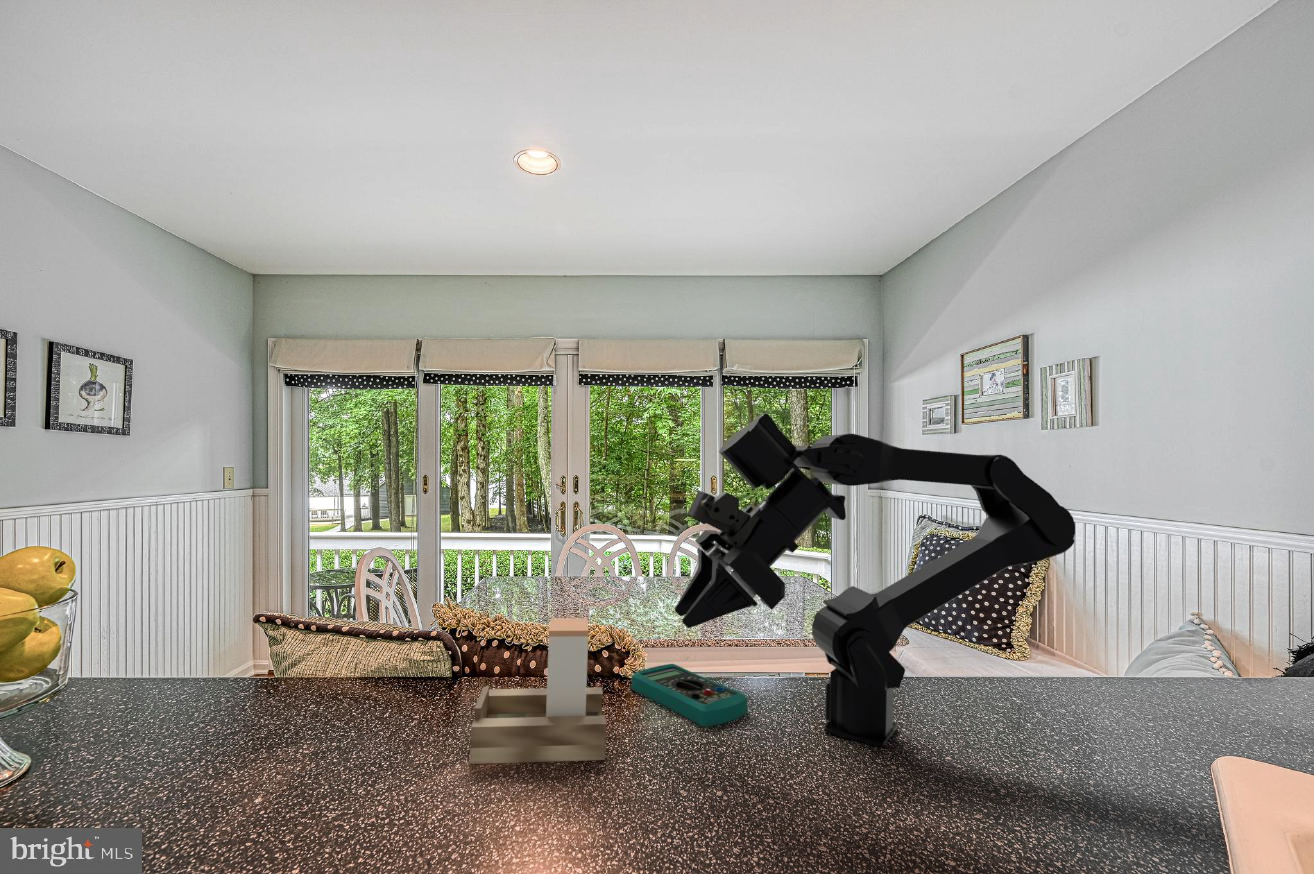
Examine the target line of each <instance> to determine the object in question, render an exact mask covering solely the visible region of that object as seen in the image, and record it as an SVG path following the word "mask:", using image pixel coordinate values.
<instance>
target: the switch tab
mask: <svg viewBox="0 0 1314 874" xmlns="http://www.w3.org/2000/svg"><path fill="white" fill-rule="evenodd" d="M588 621H589V620H588V617H587V618H585V617H582V618H581V617H580V618H579V617H577V618H571V617H569V618H568V617H567V618H566V617H565V618H563V617H562V618H560V617H559V618H554V617H553V618H550V622H549V627H548V628H549V629H548V647H547V649H548V650H547V651H548V654H547V674H546V675H547V677H546V681H547V684H546V688H547V702H546V717H571V716H586V688H587V684H588V683H587V681H588V654H589V653H588V651H589V625H588V624H589V622H588Z"/></svg>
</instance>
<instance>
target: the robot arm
mask: <svg viewBox="0 0 1314 874" xmlns="http://www.w3.org/2000/svg"><path fill="white" fill-rule="evenodd" d="M718 453H719V454H720V455H721V456H722V457H723V458H724V460H726V461H727V463H728V464H729V465H730V466H731V467H732V469H734V470H735V472H737V473H738V475H739V476H740V477H741V478H742V479H743V480H744V481H745V482H746V483H747V484H748V486H749V487H750V488H752V489H758V488H760V487H763V488H764V489H765V490H769V489H772V488H773V487H774V489H772V490H771V492H769V494H768V495H766V496H765V497H764V498H763V500H761V502H760V503H759V504H758V505H752V504H751V505H747V506H746V507H744V509H740V498H739V497H737V496H735V495H733V494H732V493H729V492H727V491H722V492H721V493H720V494H718V495H717V496H714V495H712V494H711V493H710V494H709V493H707V492H705V491H703V490H702V491H701V490H697V493H696V495H695V497H694V498H693V501H692V503H691V505H690V508H689V509H688V511H687V512H686V516H687V517H689V518H691V519H693V520H695V521H696V522H698V523H701V524H702V525H706V524H707V525H709V526H711V527H713V528H715V529H717V530H719V531H717V530H714V529H713V530H712V529H711V530H709V529H708V530H706V529H705V530H704V531H703V532H702V533H701V534H700V535H699V536H698V537H696V539H695V540H694V542H695V543H696V544H697V546H699V547H697V550H696V552H697V557H698V558H697V563H698V564H697V565H698V566H697V569H696V572H695V574H694V575H693V577H692V579H691V580H690V582H689V584H688V585H687V587H686V589H685V590H684V592H683V594H682V596H681V597H680V599H679V600H678V602H677V604H676V605H675V608H674V611H675V613H676V614H677V615H678V616H679V617H682V619H681V622H682V624H683V625H684V626H685V627H686V628H688V629H691V628H693V627H695V626H698V625H701V624H704V623H707V622H710V621H712V620H715V619H718V618H720V617H723V616H725V615H726V616H727V615H729V614H731V613H734V612H738V611H740V610H743V609H747V608H750V607H753V608H754V607H757V606H758V605H759V603H758V602H757V601H756V599H754V598H755V597H756V596H758V597H759V598H760V599H759V600H760V601H761V603H762V604H763V605H765V606H766V607H768V609H770V610H771V611H772V610H774V608H775V607H777V605H778V604H780V602H781V601H782V600H783V599H784V598H785V597H786V583H785V581H784V580H782V578H781V577H780V576H779V575H778V574H777V573H776V572H775V571H774V569H773V568H772V566H773V565H774V564H775V563H776V562H777V561H779V559H780V558H781V557H782V556H783V555H784V554H785V553H786V552H790V553H792V554H793V553H795V552H796V550H797V549H798V548H799V547H800V546H799V545H798V544H797V543H796V542H797V541H798V540H799V538H800V537H802V535H804V534H805V532H807V531H808V529H809V528H810V527H812V525H814V524H815V522H817V520H819V518H820V517H821V516H823V514H824V513H825V514H826V516H828V517H829V518H831V519H835V520H836V519H837V520H841V521H845V520H846V518H847V514H846V508H845V507H846V506H845V501H846V496H845V495H842V494H834V493H832V492H831V491H830V490H829V488H827V486H826V485H825V484H828V485H830V484H831V485H838V486H839V485H840V486H849V487H854V486H862V485H872V484H881V483H886V482H892V481H911V482H912V481H913V482H914V481H915V482H923V483H924V482H925V483H938V484H949V485H961V486H971V487H972V489H973V490H974V491H975V492H976V496H977V499H978V502H979V504H980V508H981V509H982V511H983V512H984V514H985V515H986V516H987V517H986V518H985V519H984V521H983V523H982V525H981V527H980V529H978V532H977V534H975V535H974V536H973V537H971V538H970V539H968V540H966V541H965V542H963V543H961V544H959V545H957V546H955V547H953V548H952V549H951V550H949V551H948V552H946V553H944V554H942V555H940V556H939V557H937V558H936V559H934V560H932V561H930V562H928V563H926V564H925V565H923V566H921V567H919V568H918V569H917V570H914V571H913V572H911V573H910V574H908V575H905V576H904V577H902V578H901V579H899V580H897V581H895V582H893V583H892V584H890V585H889V586H886V588H883V589H881V590H880V591H878V592H874V593H869V592H867V591H864V590H863V589H860V588H858V587H856V586H853V585H852V586H850V587H848V588H846V589H844V590H843V591H842V592H841V593H840V594H839V595H837V596H835V597H834V598H833V597H832V598H831V599H825V600H823V601H822V603H823V604H824V606H823V607H821V609H819V610H818V611H817V612H816V613H815V615H814V616H813V622H812V625H811V635H812V639H813V642H814V643H815V644H816V646H817V647H818V648H819V649H820V650H822V651H823V652H824V655H825V658H826V661H827V664H829V665H832V666H833V667H834V668H833V670H831V671H830V674H829V675H830V679H829V682H827V683H826V684H825V697H824V699H825V700H824V701H825V706H824V707H825V708H824V709H825V711H824V712H825V713H824V718H825V721H827V723H826V724H825V725H823V731H824V732H826V733H828V734H831V735H835V736H839V737H842V738H847V739H849V740H854V741H856V742H857V741H858V742H861V743H865V744H869V745H872V746H876V747H880V748H881V747H885V746H886V744H887V743H888V741H889V740H890V739H891V737H892V736H893V734H894V733H895V732H896V731H897V730H898V723H896V722H894V689H899V688H900V687H901V684H902V681H903V678H904V676H905V673H906V669H905V667H904V666H903V665H902V664H901V663H900V661H899V660H897V659H896V657H894V656H893V654H891V652H892V650H893V649H894V648H895V647H896V645H897V643H898V641H899V640H900V638H901V636H902V634H903V632H904V631H905V630H906V629H907V628H908V627H909V626H911V625H913V624H914V623H915V622H917V621H919V620H921V619H923V618H924V617H926V616H927V615H929V614H931V613H933V612H934V611H936V610H937V609H940V608H941V607H943V606H945V605H946V604H948V603H949V602H951V601H953V600H954V599H956V598H958V597H959V596H961V595H963V594H965V593H967V592H968V591H970V590H972V589H973V588H975V587H978V586H979V585H980V584H981V583H984V582H985V581H987V580H988V579H990V578H992V577H993V576H995V575H997V574H999V573H1001V572H1002V571H1004V570H1005V569H1007V568H1010V567H1014V566H1021V565H1027V564H1033V563H1039V562H1043V561H1045V560H1048V559H1050V558H1053V557H1055V556H1058V555H1061V554H1063V553H1065V552H1067V551H1068V550H1070V548H1071V547H1073V545H1074V544H1075V535H1076V523H1075V520H1074V517H1073V516H1072V513H1071V512H1070V511H1069V510H1068V509H1067V508H1066V507H1064V506H1062V505H1060V503H1058V502H1057V500H1056V499H1055V498H1054V497H1053V495H1052V494H1051V493H1050V492H1049V491H1047V490H1046V489H1045V488H1043V487H1042V486H1041V485H1039V484H1038V483H1037V482H1035V480H1033V479H1031V478H1030V477H1029V476H1027V475H1026V474H1025V473H1024V472H1023V471H1022V470H1021V468H1020V467H1019V465H1017V463H1016V462H1015V461H1014V460H1013V459H1012V458H1010V457H1008V456H1006V455H1003V454H969V453H959V452H949V451H948V452H946V451H934V450H923V449H922V450H921V449H911V448H901V447H898V446H894V445H891V444H889V443H886V442H884V441H882V440H878V439H875V438H871V437H867V436H863V435H860V434H856V433H845V434H834V435H833V434H832V435H823V436H821V437H819V438H818V439H817V440H816V441H814V442H813V444H812V445H810V444H808V445H806V444H805V445H794V444H793V443H792V442H791V440H790V439H789V437H787V436H786V435H785V434H784V433H783V432H782V430H780V428H779V427H778V426H777V424H776V421H774V420H773V418H772V417H771V416H770V415H769V414H768V413H761V414H759V415H758V416H757V417H756V418H755V419H754V420H752V421H750V423H748V424H747V425H746V426H744V427H742V429H740V430H739V431H736V432H734V433H733V434H732V435H731V436H730V437H729V438H728V439H727V440H726V441H725V442H724V443H723V445H722V446H721V447H720V449H719V450H718ZM802 469H803V470H806V471H809V472H811V474H812V475H813V477H811V478H809V476H807V475H806V474H805V473H804V472H803V471H802ZM777 484H778V485H777ZM775 486H776V487H775Z"/></svg>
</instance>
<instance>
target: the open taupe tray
mask: <svg viewBox="0 0 1314 874" xmlns="http://www.w3.org/2000/svg"><path fill="white" fill-rule="evenodd" d="M546 702H547V687H546V688H543V687H541V688H495V689H494V688H493V689H492V688H490V686H483V687H482V689H481V693H480V694H479V697H478V700H477V701H476V705H475V707H474V719H473V721H472V723H471V726H470V746H469V748H470V749H469V765H478V764H479V765H483V764H511V763H512V764H516V763H545V762H572V761H573V762H574V761H575V762H577V761H579V762H581V761H583V762H584V761H585V762H586V761H606V740H607V739H606V736H607V721H606V720H607V719H606V715H603V688H602V687H601V686H600V687H597V686H596V687H586V716H571V717H546Z"/></svg>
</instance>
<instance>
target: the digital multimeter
mask: <svg viewBox="0 0 1314 874" xmlns="http://www.w3.org/2000/svg"><path fill="white" fill-rule="evenodd" d="M631 690H632V691H633V692H635V693H637V694H639V695H641V696H644V697H645V698H647V699H650V700H651V701H654V702H656V703H657V704H660V705H662V706H663V707H665V708H667V709H669V710H670V711H673V712H675V713H677V714H678V715H680V716H682V717H684V718H686V719H688V720H690V721H692V723H695V725H696V724H697V725H698V726H700V727H703V728H706V727H707V728H708V727H714V726H717V725H722V724H726V723H728V722H732V721H735V720H737V719H739V718H741V717H743V716H745V715H746V714H748V699H749V698H748V697H747V696H746V695H745V694H743V692H741V691H738V690H736V689H733V688H731V687H728V686H725V685H722V684H720V683H718V682H716V681H713V680H711V679H708V678H706V677H704V676H701V675H699V674H697V673H695V672H692V671H690V670H688V669H686V668H684V667H682V666H679V665H677V664H674V663H668V664H667V663H666V664H663V665H658V666H657V665H656V666H654V667H649V668H645V669H641V670H639V671H636V672H635V673H632V675H631Z"/></svg>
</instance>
